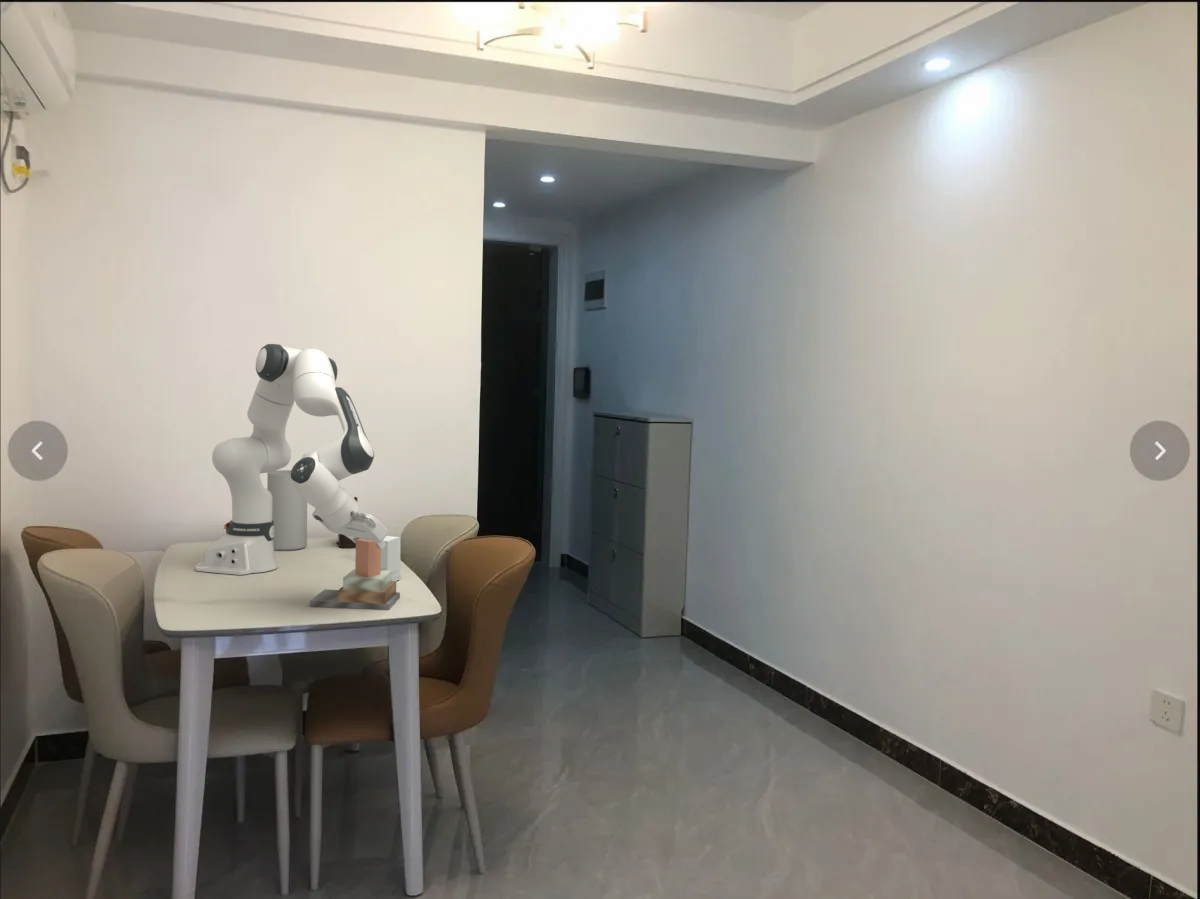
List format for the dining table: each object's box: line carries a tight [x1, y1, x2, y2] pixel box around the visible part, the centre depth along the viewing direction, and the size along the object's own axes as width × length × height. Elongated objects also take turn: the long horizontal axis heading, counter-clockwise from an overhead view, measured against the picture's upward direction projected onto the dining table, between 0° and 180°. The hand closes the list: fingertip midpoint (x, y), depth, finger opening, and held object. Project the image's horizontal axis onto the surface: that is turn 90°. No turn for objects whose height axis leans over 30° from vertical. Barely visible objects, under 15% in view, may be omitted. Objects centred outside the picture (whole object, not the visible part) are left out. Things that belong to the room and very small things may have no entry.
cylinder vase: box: [266, 469, 308, 552], centre depth 299 cm, size 12×12×25 cm
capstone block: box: [354, 539, 381, 577], centre depth 234 cm, size 4×5×9 cm
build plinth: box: [309, 569, 401, 611], centre depth 235 cm, size 20×12×8 cm, turn 89°
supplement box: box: [380, 535, 402, 582], centre depth 258 cm, size 7×7×13 cm
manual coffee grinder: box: [336, 496, 358, 549], centre depth 305 cm, size 16×11×18 cm
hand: (370, 543), depth 234 cm, fingers open, 8 cm apart
